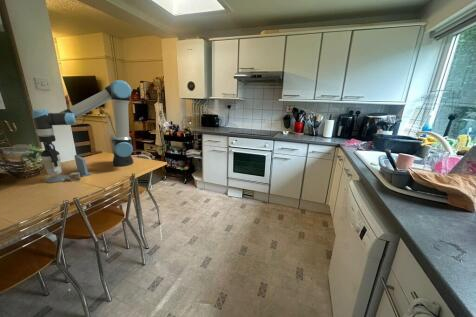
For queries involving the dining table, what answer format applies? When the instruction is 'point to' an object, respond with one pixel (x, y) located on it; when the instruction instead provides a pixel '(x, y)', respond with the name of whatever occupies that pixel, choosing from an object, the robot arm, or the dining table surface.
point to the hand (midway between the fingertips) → (55, 169)
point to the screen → (81, 166)
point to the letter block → (75, 176)
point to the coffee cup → (48, 164)
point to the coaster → (56, 178)
